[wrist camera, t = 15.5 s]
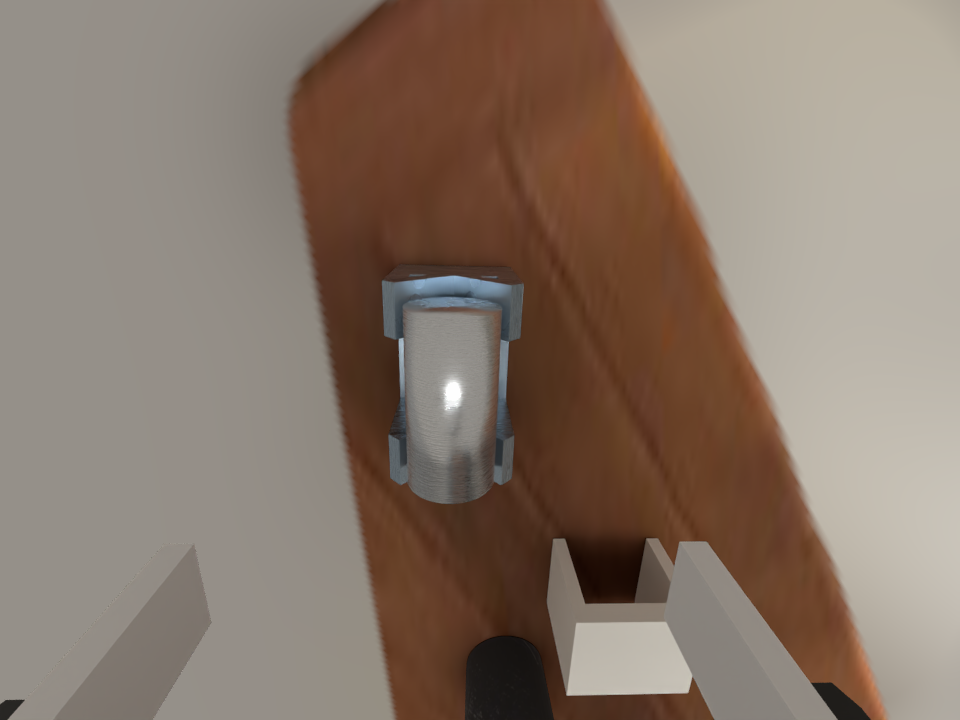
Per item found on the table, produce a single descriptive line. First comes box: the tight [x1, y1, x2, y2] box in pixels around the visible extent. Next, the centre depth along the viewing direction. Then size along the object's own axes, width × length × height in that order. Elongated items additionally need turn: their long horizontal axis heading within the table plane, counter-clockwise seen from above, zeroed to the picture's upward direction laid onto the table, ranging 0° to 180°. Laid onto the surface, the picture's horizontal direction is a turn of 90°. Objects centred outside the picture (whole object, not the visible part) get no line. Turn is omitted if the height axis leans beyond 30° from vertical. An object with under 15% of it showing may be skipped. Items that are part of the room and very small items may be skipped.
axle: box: [403, 297, 502, 504], centre depth 24 cm, size 10×5×5 cm, turn 178°
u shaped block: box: [547, 538, 692, 696], centre depth 35 cm, size 7×9×8 cm
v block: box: [382, 264, 524, 485], centre depth 28 cm, size 12×7×8 cm, turn 178°
